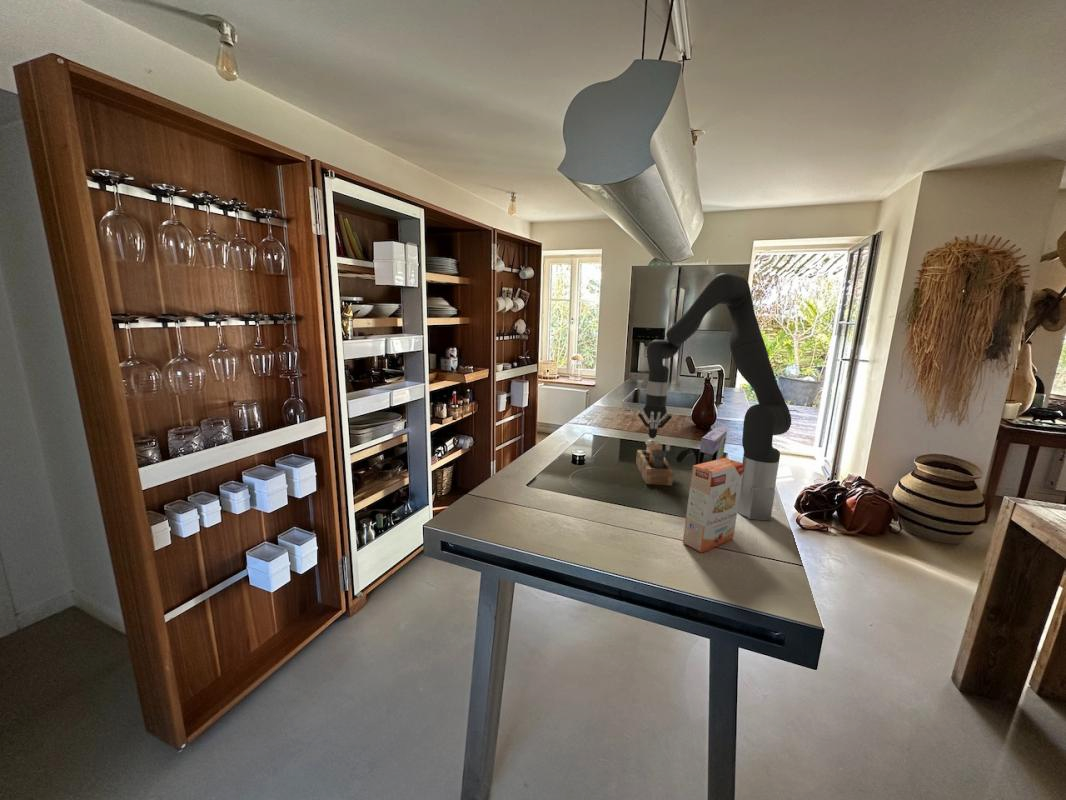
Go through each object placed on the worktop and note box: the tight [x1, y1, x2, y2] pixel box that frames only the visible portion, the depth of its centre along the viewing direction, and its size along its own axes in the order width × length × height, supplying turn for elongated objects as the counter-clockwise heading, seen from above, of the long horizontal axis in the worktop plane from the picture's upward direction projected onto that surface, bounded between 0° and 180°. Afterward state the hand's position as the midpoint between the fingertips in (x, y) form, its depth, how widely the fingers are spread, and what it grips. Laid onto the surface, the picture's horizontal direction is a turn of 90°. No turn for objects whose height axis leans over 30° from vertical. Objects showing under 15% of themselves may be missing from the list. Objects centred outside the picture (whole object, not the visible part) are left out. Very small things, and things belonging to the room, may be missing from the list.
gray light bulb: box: [652, 449, 667, 469], centre depth 147 cm, size 5×5×7 cm
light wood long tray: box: [635, 449, 675, 487], centre depth 155 cm, size 22×9×6 cm, turn 175°
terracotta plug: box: [649, 444, 663, 462], centre depth 154 cm, size 5×5×7 cm
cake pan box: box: [697, 427, 728, 464], centre depth 149 cm, size 19×5×18 cm, turn 143°
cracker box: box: [682, 457, 745, 554], centre depth 105 cm, size 14×6×21 cm, turn 124°
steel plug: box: [645, 438, 659, 456], centre depth 161 cm, size 5×5×7 cm
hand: (652, 437), depth 160 cm, fingers closed
